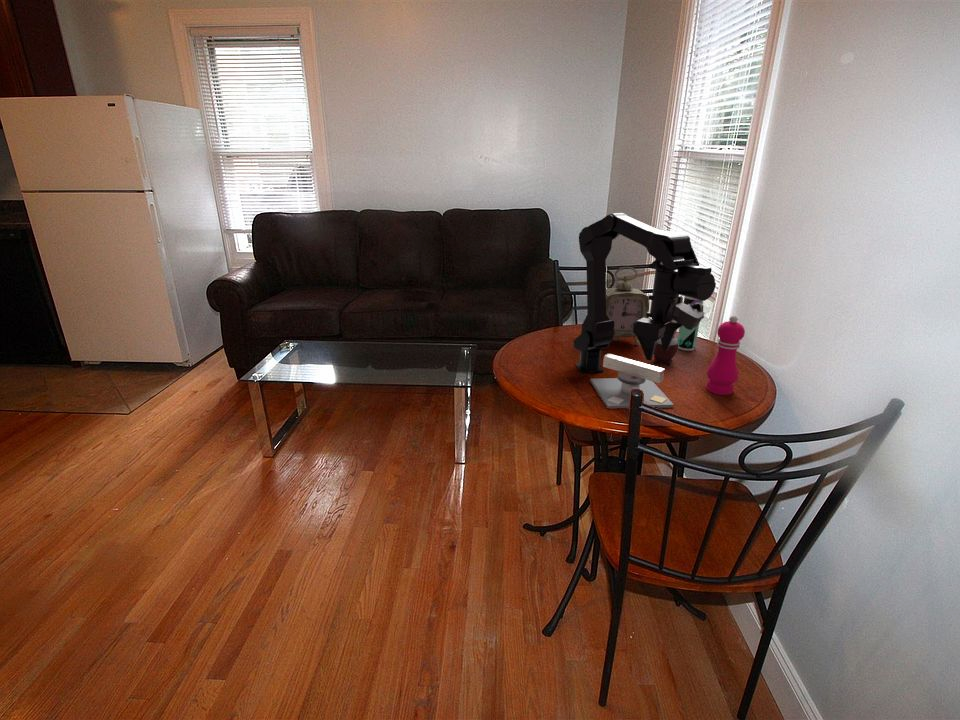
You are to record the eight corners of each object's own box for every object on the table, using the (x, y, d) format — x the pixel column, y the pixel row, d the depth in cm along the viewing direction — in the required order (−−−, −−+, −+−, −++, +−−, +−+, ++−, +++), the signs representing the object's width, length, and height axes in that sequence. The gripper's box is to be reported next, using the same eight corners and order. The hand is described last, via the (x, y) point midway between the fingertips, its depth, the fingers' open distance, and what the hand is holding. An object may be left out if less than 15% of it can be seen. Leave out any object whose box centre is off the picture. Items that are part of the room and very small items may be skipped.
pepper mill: (725, 383, 129) (740, 311, 122) (740, 395, 122) (757, 320, 115) (699, 384, 129) (712, 311, 121) (712, 396, 122) (727, 320, 115)
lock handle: (598, 374, 125) (599, 358, 123) (613, 366, 130) (614, 350, 128) (653, 392, 115) (656, 374, 113) (667, 382, 120) (670, 365, 119)
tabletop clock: (599, 347, 155) (607, 269, 146) (592, 338, 163) (599, 264, 154) (644, 347, 155) (654, 269, 146) (635, 337, 164) (644, 263, 154)
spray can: (679, 343, 158) (688, 283, 151) (696, 347, 155) (707, 285, 148) (674, 348, 154) (684, 286, 146) (692, 352, 151) (703, 289, 143)
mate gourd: (660, 368, 139) (668, 318, 134) (643, 358, 146) (649, 310, 140) (681, 364, 141) (690, 315, 136) (664, 355, 148) (671, 308, 143)
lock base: (590, 381, 131) (591, 368, 129) (648, 380, 131) (650, 367, 130) (607, 409, 116) (609, 394, 114) (673, 407, 117) (675, 393, 115)
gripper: (686, 305, 98) (675, 375, 104) (717, 289, 111) (705, 352, 117) (634, 296, 105) (626, 362, 111) (669, 282, 118) (660, 342, 124)
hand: (657, 355), depth 115 cm, fingers open, 9 cm apart
